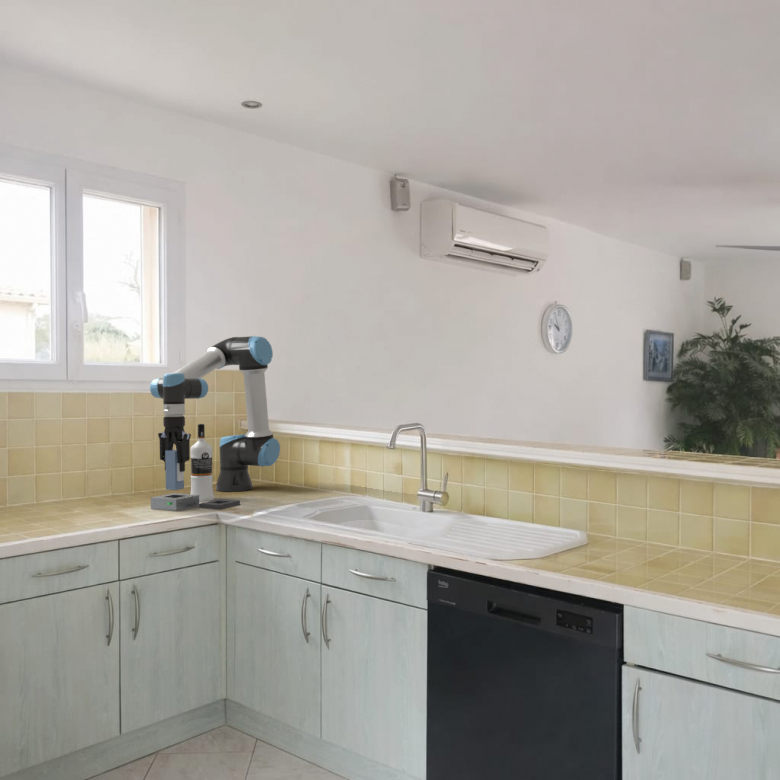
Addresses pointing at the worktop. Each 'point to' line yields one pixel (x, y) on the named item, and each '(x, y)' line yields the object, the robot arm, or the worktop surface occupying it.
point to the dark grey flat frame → (219, 504)
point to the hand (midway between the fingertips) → (174, 480)
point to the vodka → (201, 467)
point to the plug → (172, 471)
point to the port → (174, 502)
